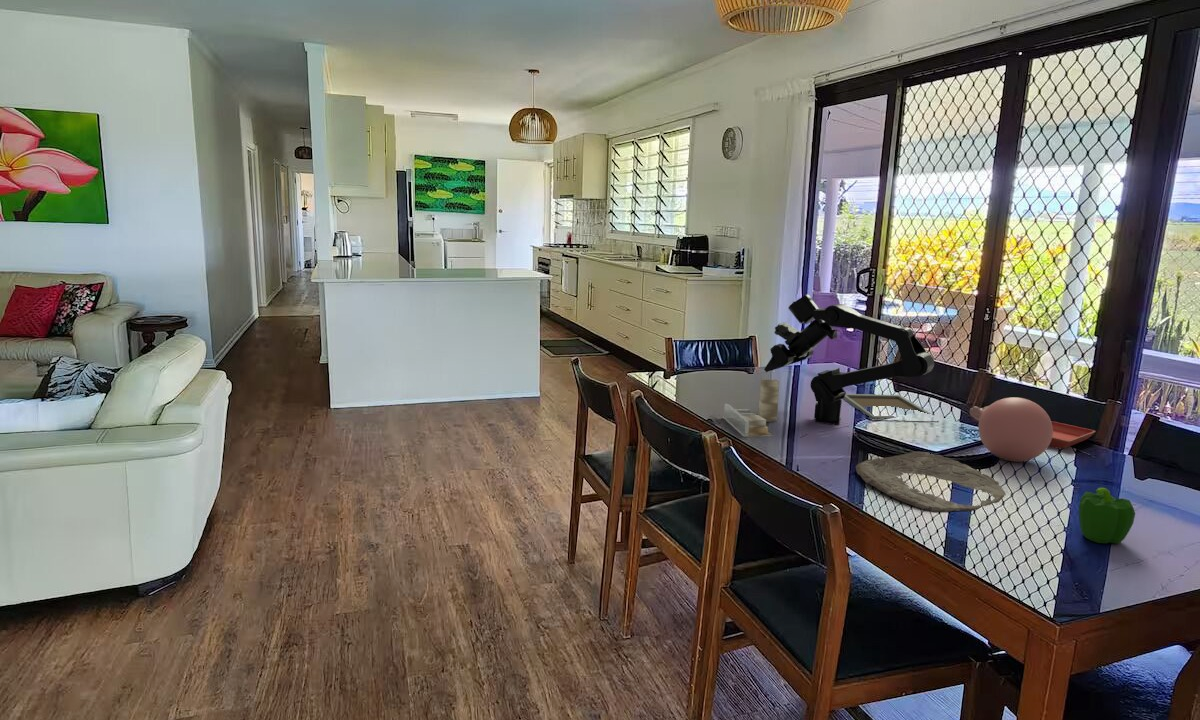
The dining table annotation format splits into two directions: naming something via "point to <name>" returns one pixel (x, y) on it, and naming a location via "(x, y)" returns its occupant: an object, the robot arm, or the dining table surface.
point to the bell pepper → (1105, 517)
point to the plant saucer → (1068, 435)
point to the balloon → (1014, 428)
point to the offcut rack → (739, 420)
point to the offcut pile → (756, 424)
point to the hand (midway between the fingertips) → (772, 368)
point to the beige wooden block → (769, 399)
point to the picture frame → (880, 402)
